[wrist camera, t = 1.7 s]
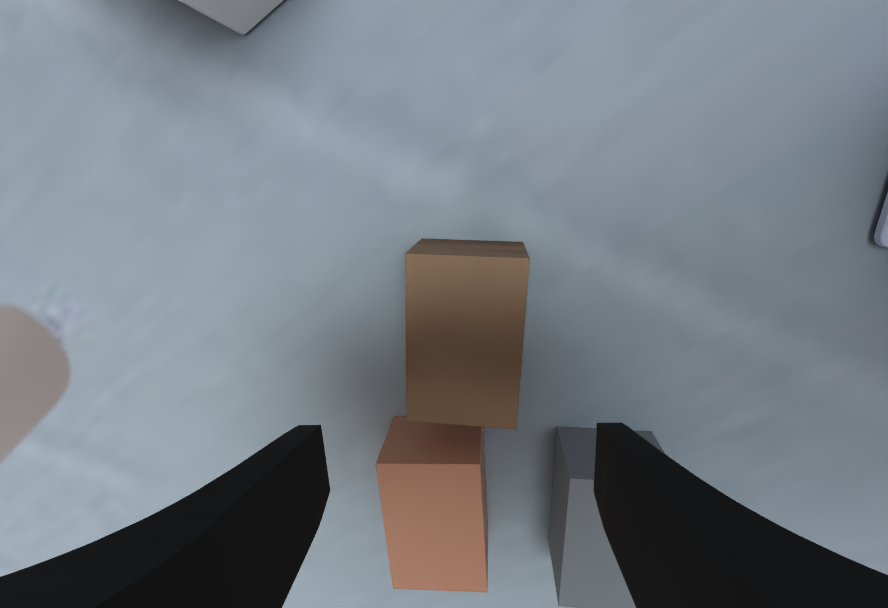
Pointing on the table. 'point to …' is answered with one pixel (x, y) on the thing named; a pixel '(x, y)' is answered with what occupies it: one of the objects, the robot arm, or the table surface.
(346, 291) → the table surface
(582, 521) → the grey block
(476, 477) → the terracotta block
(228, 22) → the jar
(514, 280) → the walnut block
